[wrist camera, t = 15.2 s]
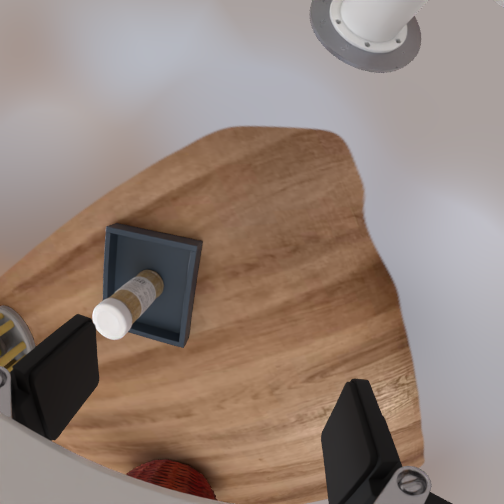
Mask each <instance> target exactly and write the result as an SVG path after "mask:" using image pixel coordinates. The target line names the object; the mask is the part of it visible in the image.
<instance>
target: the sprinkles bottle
mask: <svg viewBox="0 0 504 504" xmlns="http://www.w3.org/2000/svg"><path fill="white" fill-rule="evenodd" d="M163 287H164V284H163V280H162V278H161V277H160V275H158V273H156V272H155V271H152V270H143V271H142V272H140V273H139V274H138V275H137V276H136V277H134V278H132V279H131V280H130V281H128V282H127V283H126V284H124V285H123V286H122V287H121V288H119V289H118V290H117V291H116V292H115V293H114V294H113V295H112V296H110V297H109V298H107V299H105V300H103V301H102V302H101V303H99V304H98V305H97V306H96V307H95V309H94V311H93V316H92V317H93V323H94V324H95V326H96V329H97V330H98V331H99V332H100V333H101V334H102V335H103V336H104V337H106V338H109V339H113V340H116V339H120V338H122V337H123V336H124V335H125V334H126V333H127V332H128V331H129V330H130V328H131V326H132V324H133V323H134V322H135V321H136V320H137V319H138V318H139V317H140V316H141V315H142V314H143V313H144V312H145V311H146V310H147V308H148V307H149V306H150V305H151V304H152V303H153V302H154V300H155V299H156V298H157V297H159V296H160V295H161V293H162V292H163Z"/></svg>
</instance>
